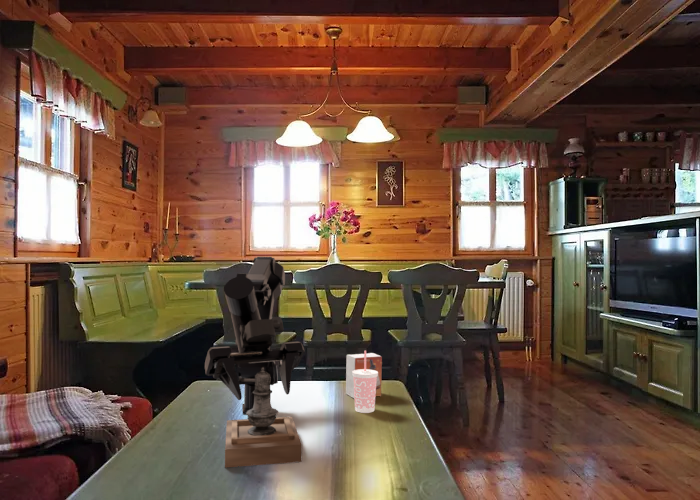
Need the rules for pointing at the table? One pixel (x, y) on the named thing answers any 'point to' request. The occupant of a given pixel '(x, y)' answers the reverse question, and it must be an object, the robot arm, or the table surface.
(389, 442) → the table surface
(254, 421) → the antique pepper shaker
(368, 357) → the small box
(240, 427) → the walnut plinth
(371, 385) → the beverage cup
